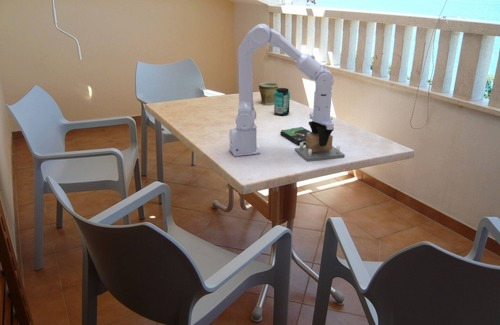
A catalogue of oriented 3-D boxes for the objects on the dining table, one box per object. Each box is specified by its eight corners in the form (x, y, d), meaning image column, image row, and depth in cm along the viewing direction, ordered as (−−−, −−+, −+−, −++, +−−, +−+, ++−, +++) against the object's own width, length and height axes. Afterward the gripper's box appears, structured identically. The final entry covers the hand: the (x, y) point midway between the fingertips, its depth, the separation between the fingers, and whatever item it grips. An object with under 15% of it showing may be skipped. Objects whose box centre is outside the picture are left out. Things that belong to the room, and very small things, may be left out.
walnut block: (310, 152, 143) (311, 138, 141) (305, 147, 147) (306, 134, 145) (331, 149, 145) (332, 136, 143) (326, 145, 149) (326, 132, 147)
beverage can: (289, 112, 199) (289, 87, 195) (289, 116, 193) (289, 90, 188) (274, 112, 200) (275, 87, 195) (273, 116, 193) (274, 90, 189)
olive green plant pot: (278, 106, 211) (278, 86, 207) (258, 106, 211) (258, 86, 207) (277, 100, 223) (277, 81, 219) (258, 100, 223) (258, 81, 219)
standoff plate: (307, 161, 140) (307, 151, 138) (294, 150, 150) (295, 141, 148) (344, 157, 143) (345, 147, 142) (330, 147, 153) (330, 138, 152)
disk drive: (321, 143, 158) (301, 132, 171) (322, 137, 157) (301, 126, 170) (298, 147, 154) (279, 136, 167) (298, 140, 153) (279, 129, 166)
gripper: (343, 110, 135) (339, 149, 140) (323, 100, 147) (321, 136, 153) (323, 111, 133) (320, 151, 138) (305, 101, 146) (303, 138, 151)
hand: (319, 143), depth 145 cm, fingers closed on walnut block, 4 cm apart
